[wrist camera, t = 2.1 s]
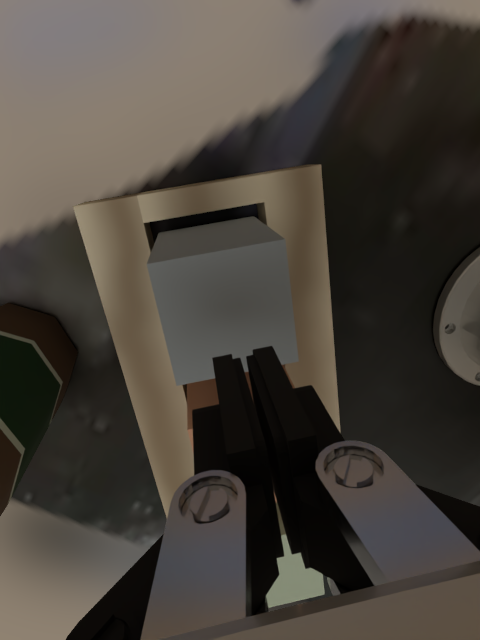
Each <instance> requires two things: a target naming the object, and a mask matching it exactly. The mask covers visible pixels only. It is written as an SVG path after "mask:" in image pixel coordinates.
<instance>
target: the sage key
mask: <svg viewBox="0 0 480 640" xmlns="http://www.w3.org/2000/svg"><path fill="white" fill-rule="evenodd" d="M276 507H277V513H278V519H279V526H280V532H281V538H282V544H283V550H284V557H280V558H277V563H278V569H279V576H278V578H277V579H276V581H275V582H274V584H273V585H272V587H271V589H270V590H269V592H268V593H267V595H266V598H267V603H268V608H270V607H274V606H278V605H282V604H286V603H290V602H295V601H299V600H303V599H307V598H311V597H316V596H320V595H324V594H325V593H324V584H323V575H322V574H321V573H320V572H318V571H316V570H314V569H312V568H308V569H305V566H304V563H303V559H302V556H301V553H297V554H293V555H292V553H291V550H290V547H289V543H288V540H287V536H286V532H285V529H284V525H283V522H282V518H281V514H280V511H279V507H278V504H277V503H276Z"/></svg>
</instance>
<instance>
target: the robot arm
mask: <svg viewBox="0 0 480 640" xmlns="http://www.w3.org/2000/svg"><path fill="white" fill-rule="evenodd" d="M433 333H434V342H435V345H436V348H437V351H438V354H439V356H440V357H441V359H442V360H443V362H444V363H445V365H446V366H447V367H448V368H450V369H451V370H452V371H453V372H454V373H455V374H457V375H458V376H460V377H461V378H462V379H464V380H465V381H467V382H470V383H472V384H475V385H479V386H480V247H479V248H478V249H476V250H475V251H474V252H473V253H472V254H470V255H469V256H468V257H467V258H466V259H465V260H464V261H463V262H462V263H461V264H460V265H459V267H458V268H457V269H456V270H455V271H454V273H453V274H452V276H451V277H450V279H449V280H448V282H447V283H446V285H445V287H444V289H443V291H442V293H441V295H440V297H439V300H438V303H437V307H436V310H435V314H434V324H433ZM212 360H213V366H214V373H215V380H216V387H217V393H218V400H219V404H217V405H212V406H207V407H203V408H198V409H193V410H192V425H193V453H194V476H192V477H190V478H189V479H187V480H186V481H185V482H184V483H182V484H181V485H180V486H179V488H178V489H177V490H176V491H175V493H174V495H173V498H172V500H171V503H170V508H169V512H168V517H167V521H166V526H165V530H164V534H163V535H162V536H161V537H160V538H159V539H158V540H157V541H156V542H155V544H154V545H153V546H152V547H151V548H150V549H149V550H148V551H147V552H146V553H145V554H144V555H143V556H142V557H141V558H140V559H139V560H138V561H137V562H136V563H135V564H134V566H133V567H132V568H130V570H129V571H128V572H127V573H126V574H125V575H124V576H123V577H122V578H121V579H120V580H119V581H118V582H117V583H116V584H115V585H114V586H113V587H112V588H111V589H110V590H109V591H108V592H107V594H106V595H104V597H103V598H102V599H101V600H100V601H99V602H98V603H97V604H96V605H95V606H94V607H93V608H92V609H91V610H90V611H89V612H88V613H87V614H86V615H85V616H84V617H83V618H82V620H80V621H79V622H78V624H77V625H76V626H75V628H74V629H73V630H72V631H71V633H70V634H69V635H68V636H67V638H66V640H480V507H479V506H476V505H473V504H470V503H468V502H465V501H462V500H459V499H456V498H453V497H450V496H447V495H445V494H442V493H439V492H436V491H433V490H430V489H427V488H424V487H422V486H419V485H416V484H414V483H413V482H412V480H411V479H410V478H409V477H408V476H407V475H406V474H405V473H404V472H403V471H402V470H401V469H400V468H399V467H398V466H397V465H396V464H395V463H394V462H393V461H392V460H391V459H390V458H389V457H388V456H387V455H386V454H385V453H384V452H383V451H381V450H380V449H379V448H378V447H375V446H373V445H371V444H368V443H365V442H360V441H345V440H344V439H343V437H342V435H341V434H340V432H339V430H338V428H337V427H336V425H335V423H334V422H333V420H332V418H331V416H330V415H329V413H328V411H327V410H326V408H325V406H324V405H323V403H322V401H321V399H320V398H319V396H318V394H317V393H316V391H315V389H314V388H313V386H312V385H308V386H303V387H298V388H294V389H293V387H292V385H291V383H290V381H289V379H288V377H287V375H286V373H285V371H284V369H283V367H282V365H281V362H280V360H279V358H278V356H277V354H276V352H275V350H274V348H273V346H268V347H263V348H258V349H253V355H249V356H246V360H247V366H248V372H249V378H250V384H251V390H252V395H253V399H252V396H251V392H250V389H249V385H248V382H247V379H246V375H245V372H244V369H243V365H242V362H241V358H235V359H233V358H232V354H228V355H223V356H218V357H213V358H212ZM253 401H254V402H253ZM274 493H275V495H274ZM275 497H276V500H277V504H278V507H279V511H280V514H281V518H282V522H283V525H284V529H285V532H286V536H287V540H288V543H289V547H290V550H291V553H292V555H293V554H297V553H301V556H302V559H303V563H304V566H305V569H308V568H312V569H314V570H316V571H318V572H320V573H321V574H323V575H325V576H327V579H328V583H329V586H330V589H331V592H332V594H333V596H331V597H327V598H323V599H319V600H315V601H311V602H307V603H303V604H299V605H295V606H291V607H287V608H282V609H278V610H274V611H270V612H268V603H267V598H266V595H267V593H268V592H269V590H270V589H271V587H272V585H273V584H274V582H275V581H276V579H277V578H278V576H279V569H278V563H277V558H280V557H284V550H283V544H282V538H281V532H280V526H279V519H278V513H277V507H276V501H275Z"/></svg>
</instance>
